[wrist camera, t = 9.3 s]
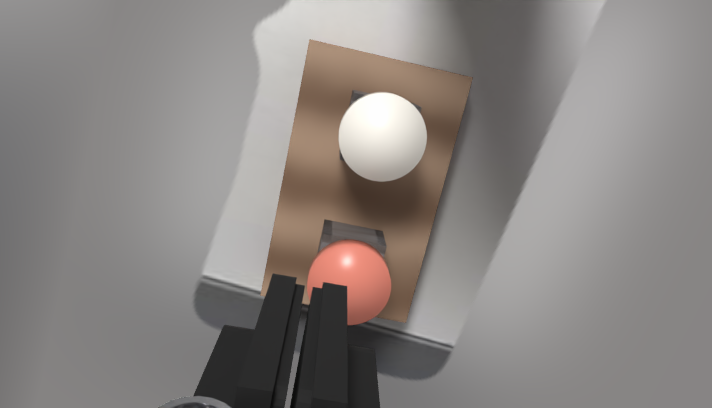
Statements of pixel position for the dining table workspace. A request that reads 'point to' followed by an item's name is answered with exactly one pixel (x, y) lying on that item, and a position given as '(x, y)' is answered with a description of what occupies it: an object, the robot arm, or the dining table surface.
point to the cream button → (382, 136)
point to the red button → (353, 277)
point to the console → (348, 189)
